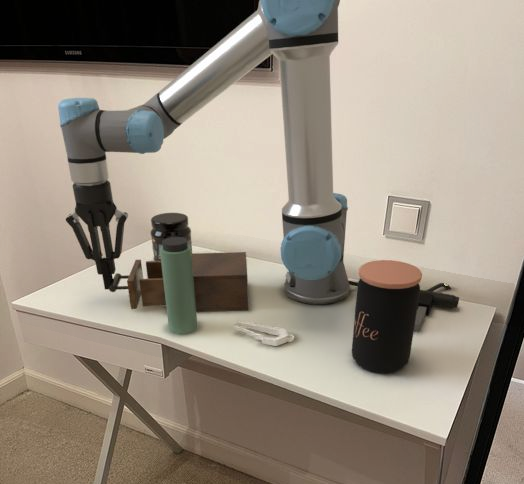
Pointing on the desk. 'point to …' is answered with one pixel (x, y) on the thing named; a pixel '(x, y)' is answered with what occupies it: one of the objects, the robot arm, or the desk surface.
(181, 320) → the bottle
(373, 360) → the coffee jar
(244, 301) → the cabinet
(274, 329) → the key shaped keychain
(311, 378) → the desk surface
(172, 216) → the supplement container
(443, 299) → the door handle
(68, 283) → the desk surface
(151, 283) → the drawer
